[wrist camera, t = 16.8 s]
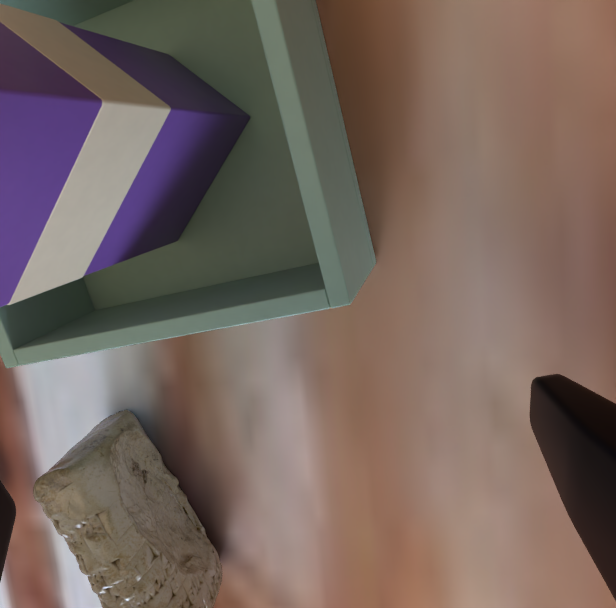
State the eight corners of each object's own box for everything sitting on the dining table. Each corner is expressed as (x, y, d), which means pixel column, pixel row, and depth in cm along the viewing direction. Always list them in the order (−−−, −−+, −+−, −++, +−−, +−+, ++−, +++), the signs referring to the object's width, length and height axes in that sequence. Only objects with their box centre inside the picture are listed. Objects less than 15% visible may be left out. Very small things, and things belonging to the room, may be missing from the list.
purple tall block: (252, 116, 18) (-78, 81, 7) (177, 242, 20) (-173, 375, 9) (168, 52, 18) (-296, -87, 7) (102, 184, 20) (-340, 241, 9)
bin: (297, -79, 17) (234, -167, 12) (376, 263, 20) (351, 305, 15) (2, 46, 21) (-138, 18, 16) (100, 320, 23) (5, 368, 18)
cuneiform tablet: (190, 630, 27) (64, 430, 25) (268, 599, 27) (144, 391, 25) (137, 782, 20) (-42, 522, 18) (241, 746, 20) (65, 471, 18)
